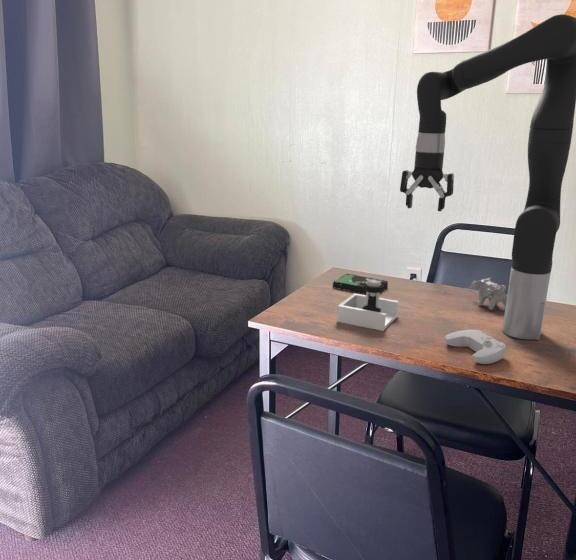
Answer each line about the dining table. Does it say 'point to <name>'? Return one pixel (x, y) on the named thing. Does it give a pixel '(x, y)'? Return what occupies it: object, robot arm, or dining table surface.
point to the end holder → (367, 312)
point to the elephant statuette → (489, 292)
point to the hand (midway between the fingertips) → (424, 209)
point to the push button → (372, 295)
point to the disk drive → (355, 283)
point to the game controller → (478, 345)
